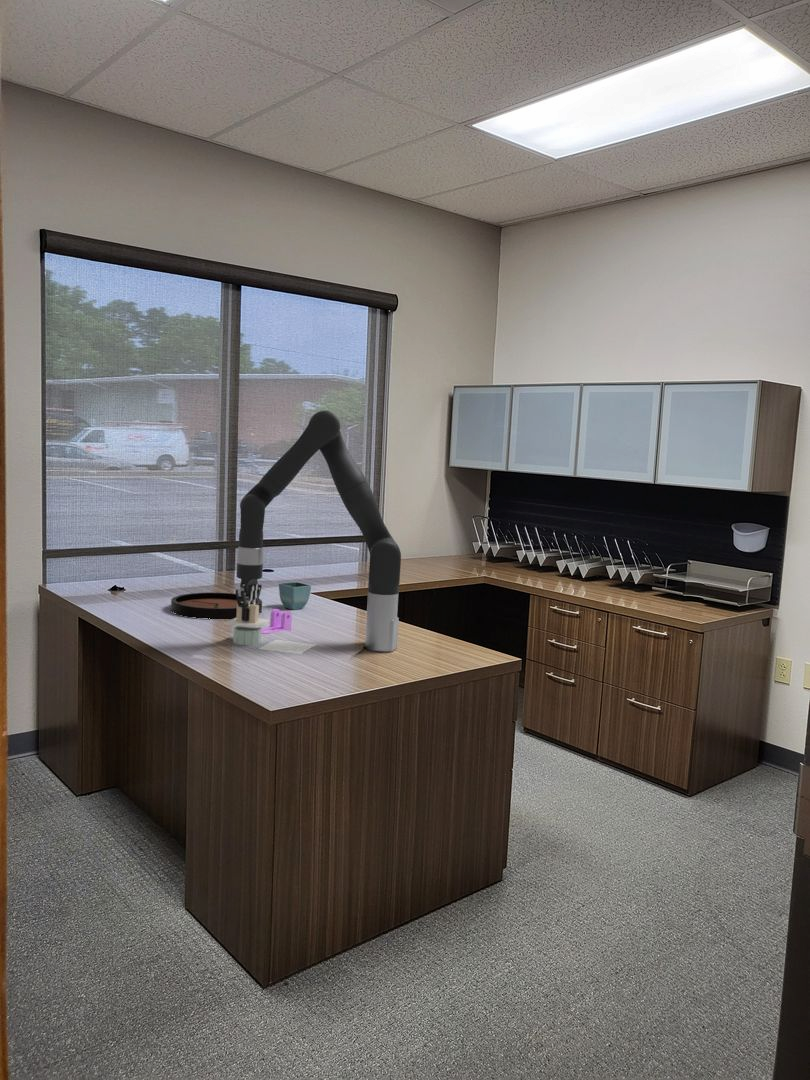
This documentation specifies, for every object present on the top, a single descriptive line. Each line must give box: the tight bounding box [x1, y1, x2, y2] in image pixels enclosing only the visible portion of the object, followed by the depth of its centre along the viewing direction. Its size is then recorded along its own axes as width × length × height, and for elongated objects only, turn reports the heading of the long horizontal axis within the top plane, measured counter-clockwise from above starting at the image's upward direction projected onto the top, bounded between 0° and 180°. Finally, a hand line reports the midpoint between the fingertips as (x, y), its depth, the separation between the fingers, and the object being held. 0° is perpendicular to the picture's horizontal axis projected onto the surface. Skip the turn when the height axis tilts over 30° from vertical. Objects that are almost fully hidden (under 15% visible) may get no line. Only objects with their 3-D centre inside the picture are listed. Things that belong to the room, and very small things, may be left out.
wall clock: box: [170, 591, 263, 620], centre depth 300 cm, size 31×4×31 cm
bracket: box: [261, 608, 293, 635], centre depth 269 cm, size 13×6×7 cm, turn 152°
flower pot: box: [278, 581, 312, 610], centre depth 312 cm, size 9×9×9 cm
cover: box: [223, 604, 270, 628], centre depth 251 cm, size 10×10×6 cm
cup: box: [232, 626, 262, 646], centre depth 252 cm, size 8×8×5 cm
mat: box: [257, 639, 317, 655], centre depth 249 cm, size 13×13×1 cm
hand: (247, 619), depth 251 cm, fingers closed on cover, 2 cm apart
